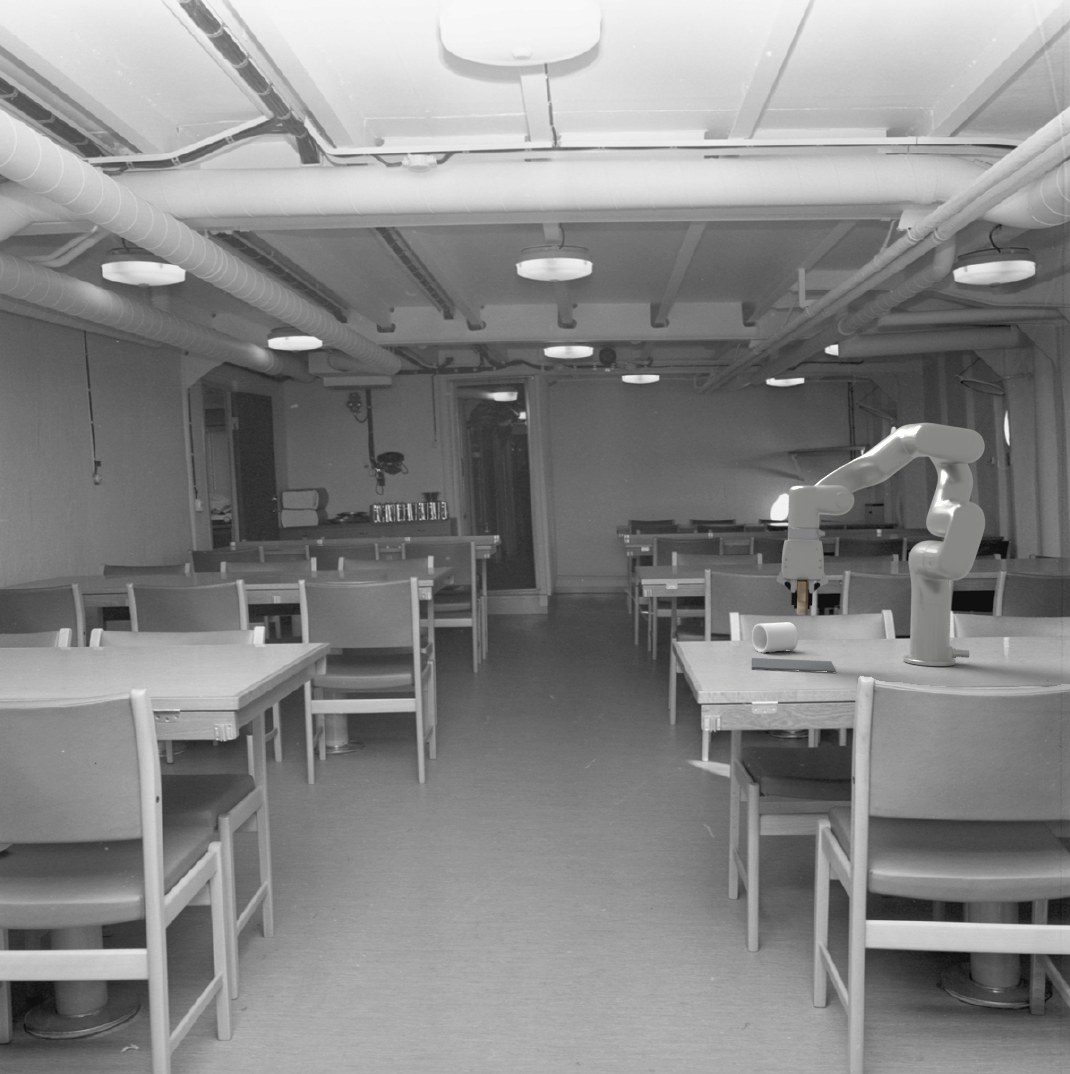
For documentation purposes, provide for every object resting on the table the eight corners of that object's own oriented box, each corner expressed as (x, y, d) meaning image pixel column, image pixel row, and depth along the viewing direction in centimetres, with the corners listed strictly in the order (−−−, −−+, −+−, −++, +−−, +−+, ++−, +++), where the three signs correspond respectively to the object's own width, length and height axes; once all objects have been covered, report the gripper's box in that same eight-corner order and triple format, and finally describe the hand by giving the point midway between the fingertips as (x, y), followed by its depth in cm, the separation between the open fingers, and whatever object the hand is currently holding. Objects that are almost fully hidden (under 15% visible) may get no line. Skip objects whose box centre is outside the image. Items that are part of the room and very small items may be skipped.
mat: (831, 663, 255) (831, 661, 255) (835, 673, 242) (836, 670, 242) (751, 660, 260) (751, 657, 259) (751, 669, 246) (751, 666, 246)
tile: (805, 610, 254) (806, 579, 253) (807, 614, 245) (808, 582, 245) (795, 610, 254) (796, 579, 254) (797, 614, 245) (798, 582, 245)
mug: (798, 652, 272) (798, 624, 272) (768, 655, 269) (768, 625, 268) (771, 646, 284) (772, 618, 283) (742, 648, 280) (742, 620, 279)
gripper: (835, 535, 251) (833, 607, 251) (770, 533, 254) (768, 605, 255) (838, 536, 243) (836, 611, 244) (770, 535, 247) (768, 608, 248)
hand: (801, 607), depth 249 cm, fingers closed on tile, 2 cm apart
